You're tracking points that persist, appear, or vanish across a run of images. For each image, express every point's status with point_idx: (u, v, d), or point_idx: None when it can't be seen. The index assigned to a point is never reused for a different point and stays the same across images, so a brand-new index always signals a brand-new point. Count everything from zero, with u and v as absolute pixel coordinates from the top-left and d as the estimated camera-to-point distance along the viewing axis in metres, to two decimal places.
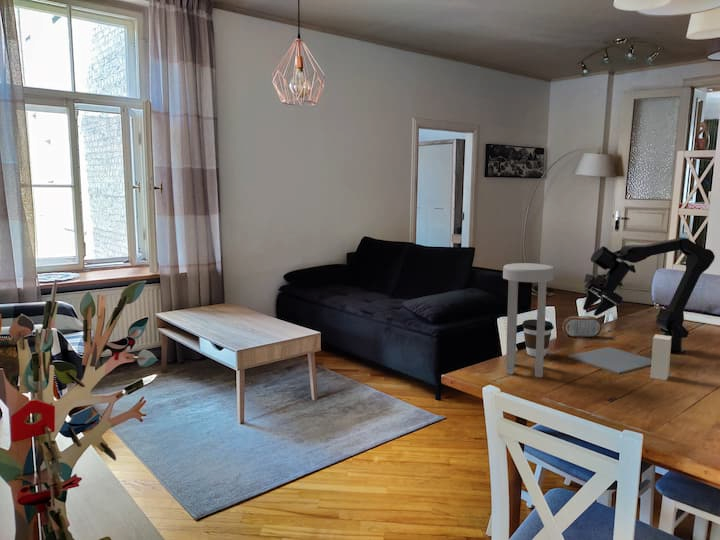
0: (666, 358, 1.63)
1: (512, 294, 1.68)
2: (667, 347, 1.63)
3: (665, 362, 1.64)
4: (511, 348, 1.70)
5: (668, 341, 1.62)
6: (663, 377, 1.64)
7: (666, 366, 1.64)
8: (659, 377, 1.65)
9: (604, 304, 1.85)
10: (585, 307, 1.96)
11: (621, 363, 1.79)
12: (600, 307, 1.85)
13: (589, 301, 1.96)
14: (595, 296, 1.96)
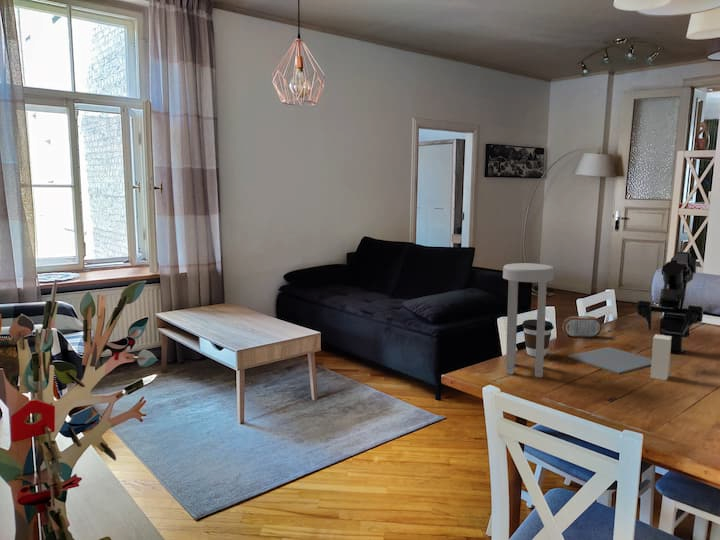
0: (666, 358, 1.63)
1: (512, 294, 1.68)
2: (667, 347, 1.63)
3: (665, 362, 1.64)
4: (511, 348, 1.70)
5: (668, 341, 1.62)
6: (663, 377, 1.64)
7: (666, 366, 1.64)
8: (659, 377, 1.65)
9: None
10: (650, 327, 1.74)
11: (621, 363, 1.79)
12: (687, 325, 1.69)
13: (650, 321, 1.75)
14: None
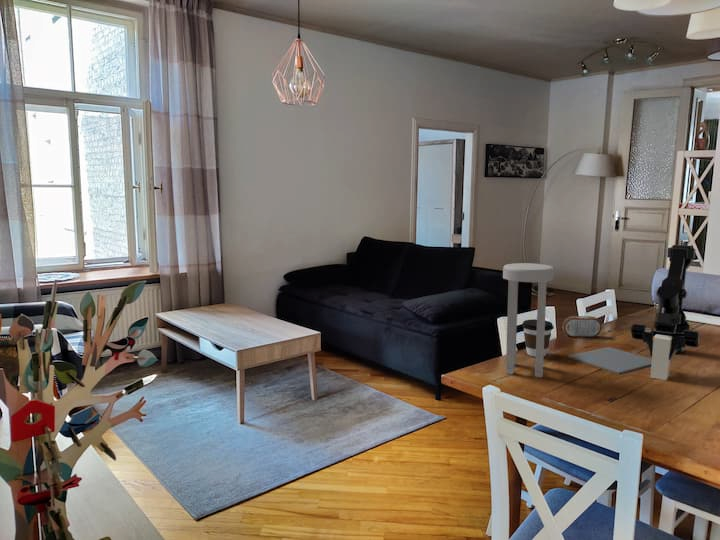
0: (666, 358, 1.63)
1: (512, 294, 1.68)
2: (667, 347, 1.63)
3: (665, 362, 1.63)
4: (511, 348, 1.70)
5: (669, 341, 1.62)
6: (663, 377, 1.64)
7: (666, 366, 1.63)
8: (659, 377, 1.65)
9: None
10: None
11: (621, 363, 1.79)
12: (675, 349, 1.64)
13: (652, 346, 1.68)
14: None
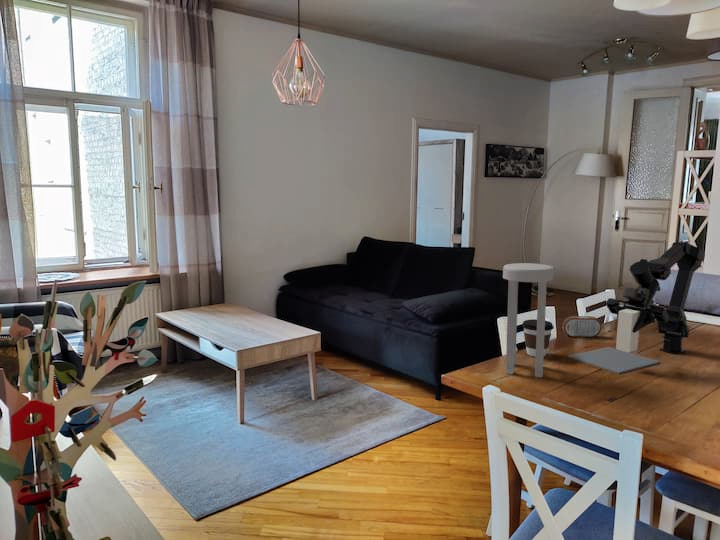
0: (629, 331, 1.70)
1: (512, 294, 1.68)
2: (630, 320, 1.69)
3: (628, 335, 1.70)
4: (511, 348, 1.70)
5: (631, 315, 1.69)
6: (626, 349, 1.71)
7: (629, 339, 1.70)
8: (623, 349, 1.72)
9: (643, 320, 1.70)
10: None
11: (621, 363, 1.79)
12: (640, 323, 1.70)
13: None
14: None
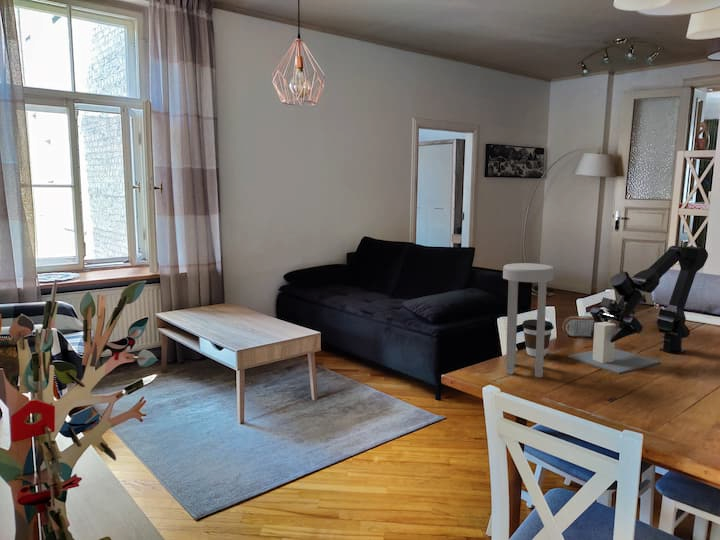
0: (602, 342, 1.79)
1: (512, 294, 1.68)
2: (603, 332, 1.78)
3: (602, 346, 1.79)
4: (511, 348, 1.70)
5: (604, 327, 1.78)
6: (600, 360, 1.80)
7: (602, 350, 1.79)
8: (598, 359, 1.81)
9: (622, 331, 1.76)
10: (593, 333, 1.84)
11: (621, 363, 1.79)
12: (618, 334, 1.76)
13: None
14: None
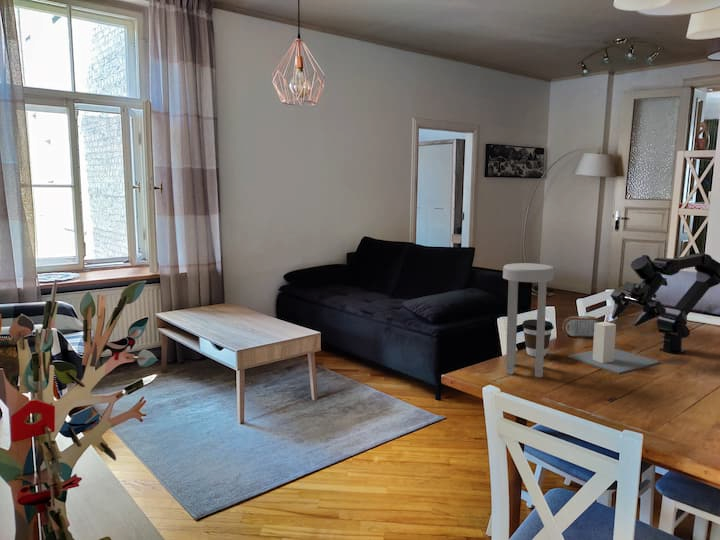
0: (602, 342, 1.78)
1: (512, 294, 1.68)
2: (603, 332, 1.78)
3: (602, 346, 1.79)
4: (511, 348, 1.70)
5: (604, 327, 1.78)
6: (600, 360, 1.80)
7: (602, 350, 1.79)
8: (598, 359, 1.81)
9: (646, 315, 1.79)
10: (614, 316, 1.87)
11: (621, 363, 1.79)
12: (642, 317, 1.78)
13: (618, 310, 1.88)
14: (622, 305, 1.89)
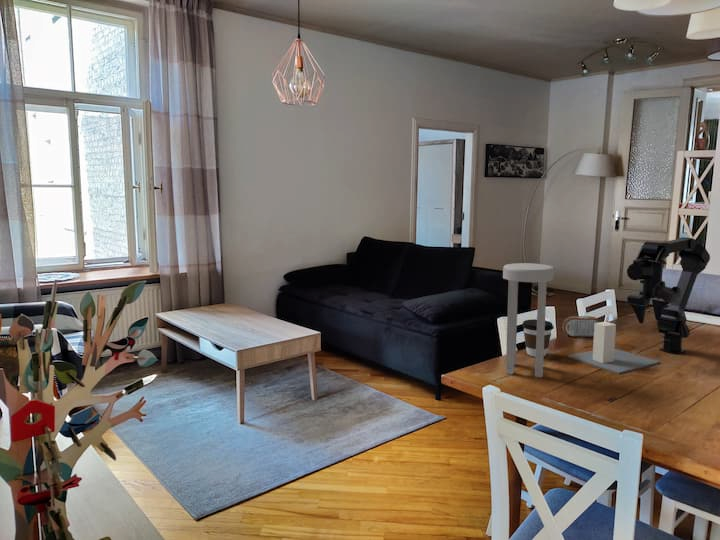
0: (602, 342, 1.78)
1: (512, 294, 1.68)
2: (603, 332, 1.78)
3: (602, 346, 1.79)
4: (511, 348, 1.70)
5: (604, 327, 1.78)
6: (600, 360, 1.80)
7: (602, 350, 1.79)
8: (598, 359, 1.81)
9: None
10: None
11: (621, 363, 1.79)
12: None
13: None
14: None
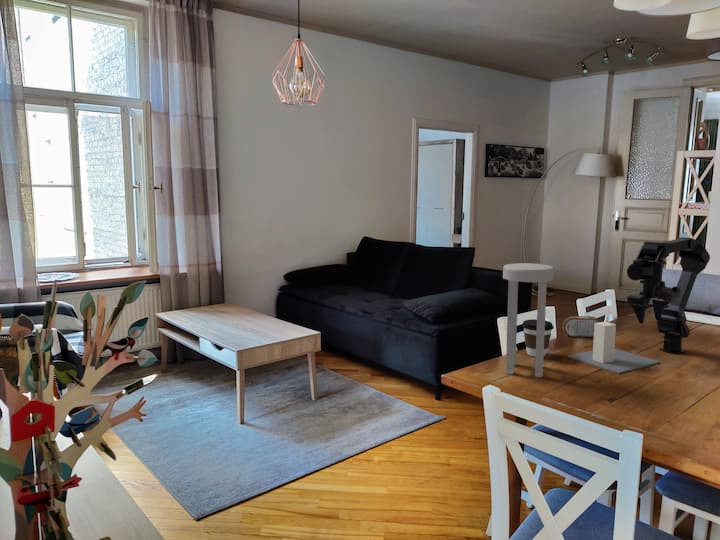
0: (602, 342, 1.78)
1: (512, 294, 1.68)
2: (603, 332, 1.78)
3: (602, 346, 1.79)
4: (511, 348, 1.70)
5: (604, 327, 1.78)
6: (600, 360, 1.80)
7: (602, 350, 1.79)
8: (598, 359, 1.81)
9: None
10: None
11: (621, 363, 1.79)
12: None
13: None
14: None
